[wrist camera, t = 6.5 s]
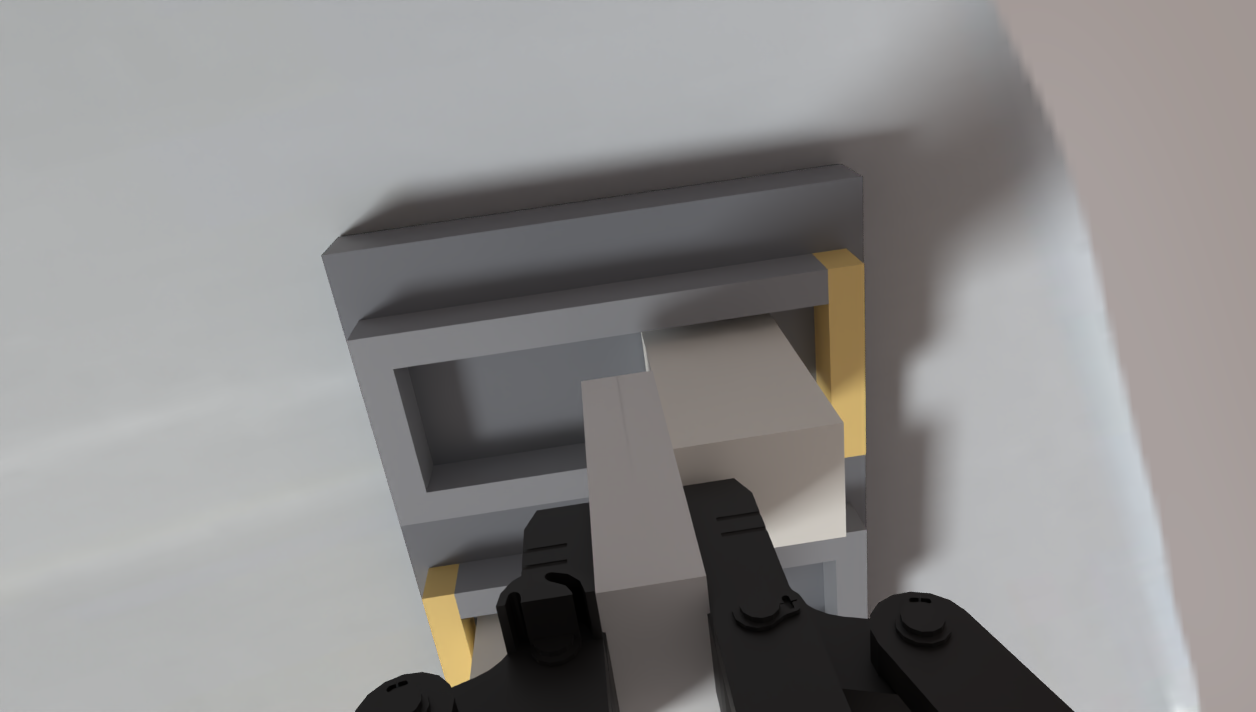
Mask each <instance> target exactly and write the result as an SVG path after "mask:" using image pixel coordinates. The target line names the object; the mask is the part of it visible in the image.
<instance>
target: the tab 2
mask: <svg viewBox="0 0 1256 712" xmlns="http://www.w3.org/2000/svg"><path fill="white" fill-rule="evenodd" d="M641 335H642V343H643V351H644V358H645V366H646V371H653V374H654V378H655V382H656V386H657V390H658V394H659V397H660V401H661V405H662V409H663V413H664V417H665V420H666V424H667V428H668V432H669V436H670V439H671V443H672V447H673V451H674V455H675V459H676V462H677V466H678V470H679V474H680V478H681V481H682V485H683V486H686V485H692V484H699V483H705V482H712V481H718V480H725V479H731V478H735V479H736V480H737V481H738V482H740V483H741V484H742V485H743V486H745V487H746V488H747V489H748V490H750V491H751V492H752V493H753V496H754V498H755V501H756V504H757V506H758V509H759V511H760V515H761V516H762V519H763V521H764V524H765V526H766V530H767V531H768V534H769V536H770V539H771V541H772V544H773V546H774V548H776V547H782V546H789V545H795V544H802V543H808V542H814V541H821V540H827V539H834V538H840V537H846V504H845V458H844V422H843V421H842V420H841V418H840V417H839V415H838V414H837V412H836V411H835V409H834V408H833V406H832V405H831V403H830V402H829V400H828V399H827V397H826V396H825V394H824V393H823V391H822V390H821V389H820V387H819V386H818V384H817V383H816V381H815V380H814V378H813V377H812V375H811V374H810V372H809V371H808V369H807V368H806V366H805V365H804V363H803V362H802V360H801V359H800V357H799V356H798V355H797V353H796V352H795V350H794V349H793V347H792V346H791V344H790V343H789V341H788V340H787V338H786V337H785V335H784V334H783V332H782V331H781V329H780V328H779V326H778V325H777V324H776V322H775V321H774V319H773V318H772V316H771V315H770V313H765V314H759V315H752V316H745V317H739V318H732V319H725V320H719V321H712V322H705V323H698V324H692V325H685V326H678V327H672V328H665V329H658V330H652V331H645V332H641Z"/></svg>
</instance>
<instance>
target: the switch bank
mask: <svg viewBox="0 0 1256 712" xmlns="http://www.w3.org/2000/svg"><path fill="white" fill-rule="evenodd" d="M321 256H322V259H323V263H324V266H325V270H326V273H327V277H328V280H329V283H330V287H331V290H332V294H333V297H334V300H335V304H336V307H337V311H338V314H339V318H340V321H341V324H342V328H343V331H344V335H345V338H346V341H347V345H348V348H349V352H350V355H351V359H352V362H353V365H354V369H355V372H356V376H357V379H358V382H359V386H360V389H361V393H362V396H363V400H364V403H365V406H366V410H367V413H368V417H369V420H370V423H371V427H372V430H373V434H374V437H375V441H376V444H377V447H378V451H379V454H380V458H381V461H382V464H383V468H384V471H385V475H386V478H387V482H388V485H389V488H390V492H391V495H392V499H393V502H394V505H395V509H396V512H397V516H398V519H399V523H400V526H401V529H402V533H403V536H404V540H405V543H406V546H407V550H408V553H409V557H410V560H411V564H412V567H413V570H414V574H415V577H416V581H417V584H418V587H419V591H420V594H421V598H422V601H423V605H424V608H425V611H426V615H427V618H428V622H429V625H430V628H431V632H432V635H433V639H434V642H435V646H436V649H437V652H438V656H439V659H440V663H441V666H442V669H443V673H444V676H445V680H446V682H448V683H449V684H450V686H451V687H454V686H456V685H458V684H461V683H463V682H466V681H468V680H470V672H471V664H472V657H473V649H474V641H475V633H476V625H477V617H478V616H483V615H490V614H496V613H497V610H496V604H497V602H498V599H499V596H500V593H501V592H502V591H503V590H504V589H505V588H506V587H507V586H508V585H509V584H510V583H511V582H512V581H513V580H515V579H517V578H518V577H520V576H521V572H522V555H523V538H524V529H525V527H526V526H527V524H528V523H529V521H530V520H531V518H532V517H533V515H534V514H535V512H536V511H537V510H543V509H549V508H556V507H562V506H569V505H575V504H582V503H588V502H589V491H588V476H587V461H586V447H585V432H584V417H583V402H582V387H581V381H586V380H593V379H600V378H606V377H613V376H620V375H626V374H633V373H639V372H646V366H645V358H644V351H643V343H642V335H641V332H645V331H652V330H658V329H665V328H672V327H678V326H685V325H692V324H698V323H705V322H712V321H719V320H725V319H732V318H739V317H745V316H752V315H759V314H765V313H770V315H771V316H772V318H773V319H774V321H775V322H776V324H777V325H778V326H779V328H780V329H781V331H782V332H783V334H784V335H785V337H786V338H787V340H788V341H789V343H790V344H791V346H792V347H793V349H794V350H795V352H796V353H797V355H798V356H799V357H800V359H801V360H802V362H803V363H804V365H805V366H806V368H807V369H808V371H809V372H810V374H811V375H812V377H813V378H814V380H815V381H816V383H817V384H818V386H819V387H820V389H821V390H822V391H823V393H824V394H825V396H826V397H827V399H828V400H829V402H830V403H831V405H832V406H833V408H834V409H835V411H836V412H837V414H838V415H839V417H840V418H841V420H842V421H843V422H844V458H845V504H846V537H840V538H834V539H827V540H821V541H814V542H808V543H802V544H795V545H789V546H782V547H776V548H774V549H775V551H776V554H777V556H778V559H779V561H780V564H781V566H782V569H783V571H784V574H785V576H786V579H787V581H788V584H789V586H790V588H791V589H792V590H793V591H795V592H797V593H798V594H800V596H801V597H802V599H803V600H804V601H805V603H806V604H807V605H809V606H810V607H812V608H814V609H816V610H819V611H822V612H825V613H827V614H832V615H838V616H844V617H855V618H866V619H868V610H867V529H866V463H865V455H866V394H865V287H864V256H863V176H861V175H859V174H858V173H856V172H854V171H853V170H851V169H849V168H847V167H846V166H844V165H842V164H836V165H830V166H823V167H816V168H809V169H802V170H795V171H788V172H782V173H775V174H768V175H761V176H754V177H747V178H740V179H733V180H727V181H720V182H713V183H706V184H699V185H692V186H685V187H679V188H672V189H665V190H658V191H651V192H644V193H637V194H630V195H624V196H617V197H610V198H603V199H596V200H589V201H582V202H576V203H569V204H562V205H555V206H548V207H541V208H534V209H528V210H521V211H514V212H507V213H500V214H493V215H486V216H479V217H473V218H466V219H459V220H452V221H445V222H438V223H431V224H425V225H418V226H411V227H404V228H397V229H390V230H383V231H377V232H370V233H363V234H356V235H349V236H342V237H338V238H337V239H336V240H335V241H334V242H333V243H332V244H331V245H330V247H329V248H328V249H327V250H326V251H325V252H324V253H323V254H322V255H321Z"/></svg>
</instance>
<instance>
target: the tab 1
mask: <svg viewBox="0 0 1256 712" xmlns="http://www.w3.org/2000/svg"><path fill="white" fill-rule="evenodd" d="M506 655H507V651H506V647H505V643H504V639H503V635H502V630H501V626H500V622H499V618H498V614H497V613H496V614H490V615H483V616H478V617H477V625H476V633H475V641H474V649H473V657H472V664H471V672H470V679H473V678H475V677H477V676H479V675H481V674H483V673H485V672H486V671H488V670H490V669H491V668H493V667H494V666H495V665H496V664H498V663H499V662H500V661H501V660H502V659H503V658H504V657H505V656H506Z"/></svg>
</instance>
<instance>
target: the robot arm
mask: <svg viewBox="0 0 1256 712" xmlns="http://www.w3.org/2000/svg"><path fill="white" fill-rule="evenodd" d="M581 387H582V402H583V417H584V432H585V447H586V461H587V476H588V491H589V502H588V503H582V504H575V505H569V506H562V507H556V508H549V509H543V510H537V511H536V512H535V514H534V515H533V517H532V518H531V520H530V521H529V523H528V524H527V526H526V527H525V529H524V538H523V555H522V572H521V576H520V577H518V578H517V579H515V580H513V581H512V582H511V583H510V584H509V585H508V586H507V587H506V588H505V589H504V590H503V591H502V592H501V593H500V596H499V599H498V602H497V604H496V610H497V614H498V618H499V622H500V626H501V630H502V635H503V639H504V643H505V647H506V651H507V655H506V656H505V657H504V658H503V659H502V660H501V661H500V662H499V663H498V664H496V665H495V666H494V667H493V668H491V669H490V670H488V671H486V672H485V673H483V674H481V675H479V676H477V677H475V678H473V679H470V680H468V681H466V682H463V683H461V684H458V685H456V686H454V687H451V686H450V684H449V683H448V682H446V681H445V680H444V679H443V678H441V677H440V676H439V675H434V674H429V673H424V672H420V673H412V674H404V675H401V676H399V677H397V678H394V679H392V680H389V681H387V682H385V683H383V684H382V685H380V686H379V687H378V688H376V689H375V690H374V691H372V692H371V693H370V694H368V695H367V697H366V698H365V699H364V700H363V702H362V703H361V704H360V705H359V707H358V708H357V709H356V711H355V712H1074V711H1073V710H1072V709H1071V708H1070V707H1069V706H1068V705H1067V704H1065V703H1064V702H1063V701H1062V700H1061V699H1060V698H1059V697H1058V696H1057V695H1056V694H1055V693H1054V692H1053V691H1051V690H1050V689H1049V688H1048V687H1047V686H1046V685H1045V684H1044V683H1043V682H1042V681H1041V680H1040V679H1039V678H1037V677H1036V676H1035V675H1034V674H1033V673H1032V672H1031V671H1030V670H1029V669H1028V668H1027V667H1026V666H1025V665H1023V664H1022V663H1021V662H1020V661H1019V660H1018V659H1017V658H1016V657H1015V656H1014V655H1013V654H1012V653H1011V652H1009V651H1008V650H1007V649H1006V648H1005V647H1004V646H1003V645H1002V644H1001V643H1000V642H999V641H998V640H997V639H995V638H994V637H993V636H992V635H991V634H990V633H989V632H988V631H987V630H986V629H985V628H984V627H983V626H981V625H980V624H979V623H978V622H977V621H976V620H975V619H974V618H973V617H972V616H971V615H970V614H969V613H967V612H966V611H965V610H964V609H962V608H961V607H959V606H958V605H956V604H955V603H953V602H952V601H950V600H948V599H945V598H942V597H939V596H936V595H933V594H930V593H918V592H907V593H902V594H896V595H892V596H890V597H888V598H887V599H885V600H883V601H881V602H880V603H878V604H877V606H876V607H875V609H874V610H873V612H872V613H871V615H870V619H866V618H855V617H844V616H838V615H832V614H827V613H825V612H822V611H819V610H816V609H814V608H812V607H810V606H809V605H807V604H806V603H805V601H804V600H803V599H802V597H801V596H800V594H798V593H797V592H795V591H793V590H792V589H791V588H790V586H789V584H788V581H787V579H786V576H785V574H784V571H783V569H782V566H781V564H780V561H779V559H778V556H777V554H776V551H775V549H774V546H773V544H772V541H771V539H770V536H769V534H768V531H767V530H766V526H765V524H764V521H763V519H762V516H761V515H760V511H759V509H758V506H757V504H756V501H755V498H754V496H753V493H752V492H751V491H750V490H748V489H747V488H746V487H745V486H743V485H742V484H741V483H740V482H738V481H737V480H736V479H735V478H731V479H725V480H718V481H712V482H705V483H699V484H692V485H686V486H683V485H682V481H681V478H680V474H679V470H678V466H677V462H676V459H675V455H674V451H673V447H672V443H671V439H670V436H669V432H668V428H667V424H666V420H665V417H664V413H663V409H662V405H661V401H660V397H659V394H658V390H657V386H656V382H655V378H654V374H653V371H646V372H639V373H633V374H626V375H620V376H613V377H606V378H600V379H593V380H586V381H581Z"/></svg>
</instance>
